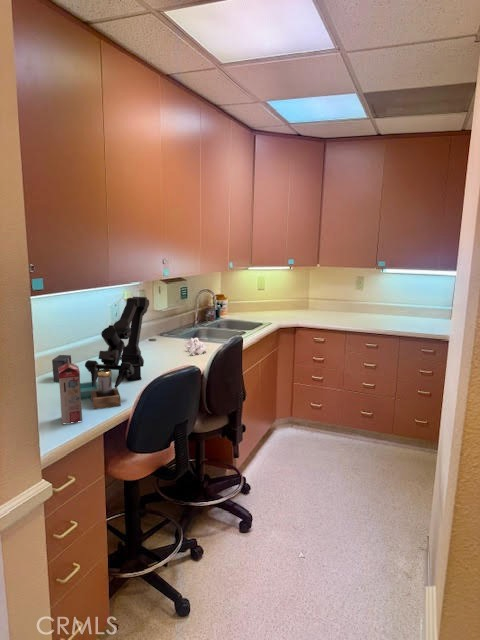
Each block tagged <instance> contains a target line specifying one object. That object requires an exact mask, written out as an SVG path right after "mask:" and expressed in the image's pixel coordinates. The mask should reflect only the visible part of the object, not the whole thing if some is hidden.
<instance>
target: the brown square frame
mask: <svg viewBox="0 0 480 640" xmlns="http://www.w3.org/2000/svg"><path fill="white" fill-rule="evenodd" d="M90 399H91V403H92V408H93V410H99V409H98V408H100V409H106V407H108V408H115V407H114V406H116V407H121V405H122V403H121V395H120V391H119V389H118V387H117V388H115V387H112V396H106V397H99V390H92V391H91V398H90Z"/></svg>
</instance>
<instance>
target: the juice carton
mask: <svg viewBox="0 0 480 640" xmlns="http://www.w3.org/2000/svg"><path fill="white" fill-rule="evenodd" d="M58 369H59V382H58V383H59V397H60V399H59V400H60V413H61V415H60V416H61V425H62V424H63V423H71V422H78V421H82V422H83V413H82V412H83V411H82V410H83V409H82V399H81V389H80V383H81V374H80V367H79V365H76V364H74V363H72V362H71V363H69V358H68V363H66V364H64V365H63V366H61V367H60V368H58Z"/></svg>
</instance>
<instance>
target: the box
mask: <svg viewBox="0 0 480 640" xmlns="http://www.w3.org/2000/svg"><path fill="white" fill-rule="evenodd" d="M68 358H69V363H72V356H71V354H59V355H58V356H55V357H54V358H53V359H52V360H51V363H52V375H53V382H54V383H59V369H58V368H60V367H61V366H63V365H64V364H66V363H68Z"/></svg>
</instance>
